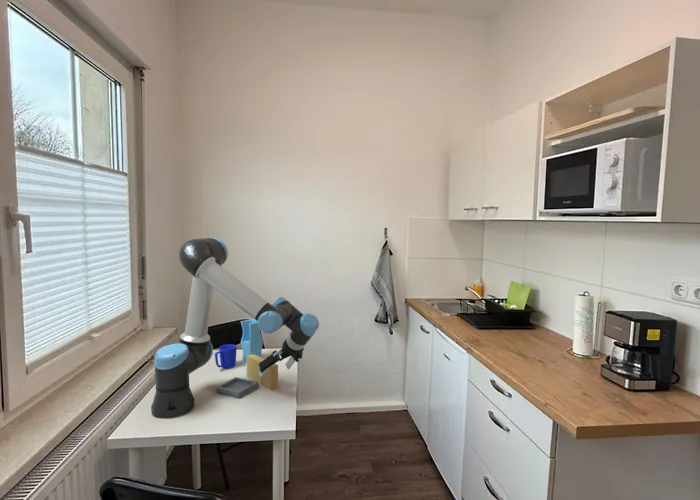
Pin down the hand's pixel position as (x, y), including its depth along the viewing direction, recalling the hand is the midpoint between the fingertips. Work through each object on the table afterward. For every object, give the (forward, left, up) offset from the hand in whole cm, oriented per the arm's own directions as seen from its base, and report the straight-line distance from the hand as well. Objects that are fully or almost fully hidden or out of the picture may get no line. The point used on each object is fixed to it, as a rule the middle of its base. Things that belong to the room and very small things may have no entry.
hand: (273, 370), depth 176 cm
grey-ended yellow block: (+4, +12, -7) cm, 14 cm away
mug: (+9, +35, -8) cm, 37 cm away
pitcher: (+24, +31, -8) cm, 40 cm away
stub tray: (-9, +12, -7) cm, 17 cm away
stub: (0, +2, -8) cm, 8 cm away
